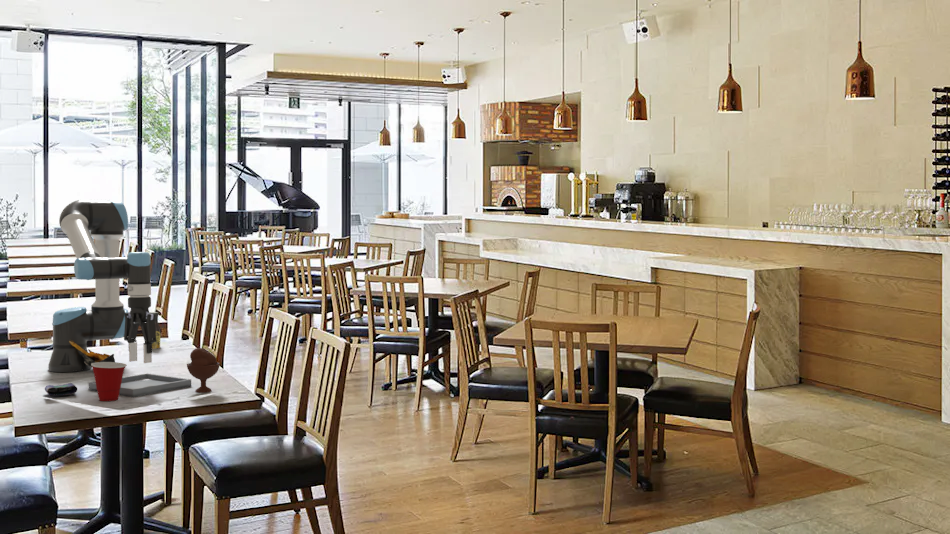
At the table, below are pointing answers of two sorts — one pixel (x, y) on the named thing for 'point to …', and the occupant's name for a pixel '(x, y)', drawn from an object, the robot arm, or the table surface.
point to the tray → (147, 384)
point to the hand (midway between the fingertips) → (140, 361)
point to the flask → (61, 389)
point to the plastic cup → (108, 379)
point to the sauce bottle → (157, 327)
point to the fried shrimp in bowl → (93, 356)
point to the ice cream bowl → (202, 367)
